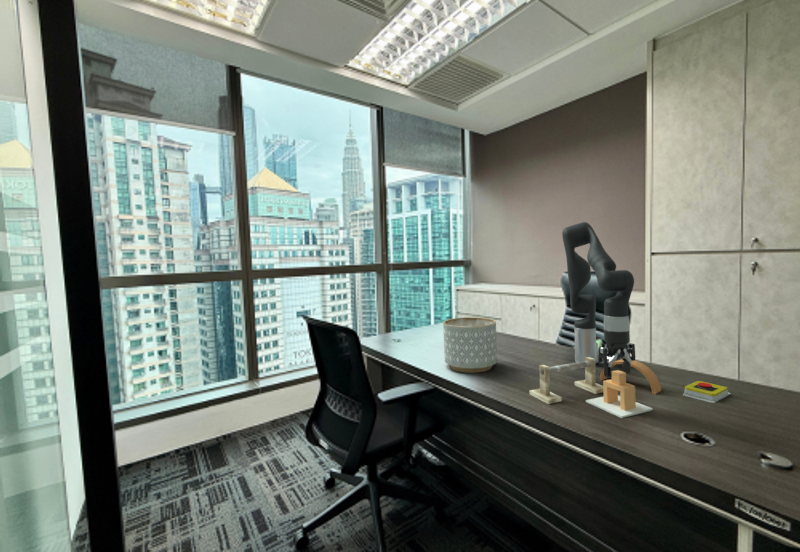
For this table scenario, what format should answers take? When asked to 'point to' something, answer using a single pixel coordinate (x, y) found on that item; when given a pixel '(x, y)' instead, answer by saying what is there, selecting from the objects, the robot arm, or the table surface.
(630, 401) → the wooden bridge block
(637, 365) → the arch
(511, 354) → the table surface
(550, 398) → the rail stand
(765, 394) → the table surface
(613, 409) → the mat
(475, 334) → the planter
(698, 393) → the emergency button
